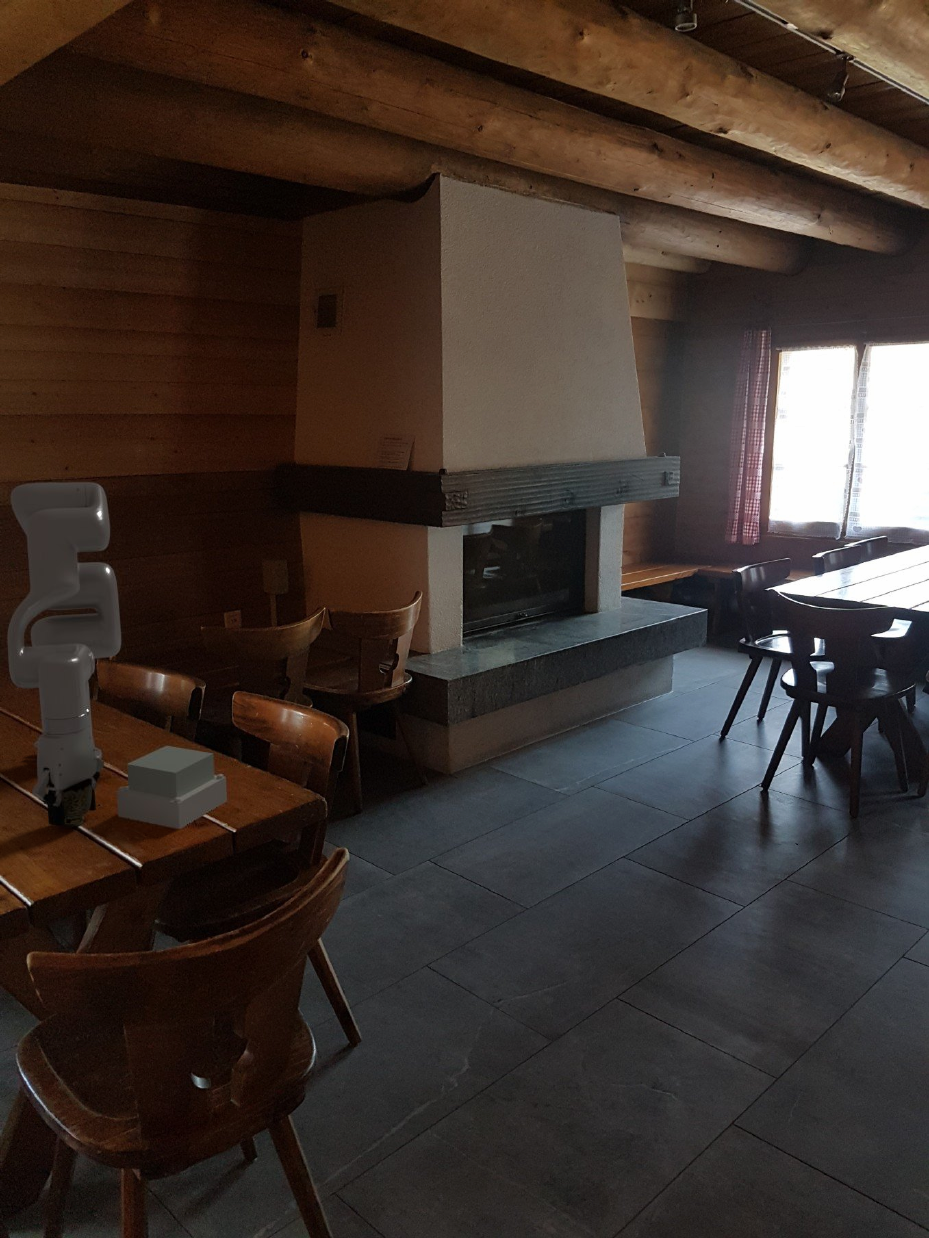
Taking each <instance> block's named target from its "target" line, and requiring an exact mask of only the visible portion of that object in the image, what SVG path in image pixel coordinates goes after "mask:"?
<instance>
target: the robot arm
mask: <svg viewBox="0 0 929 1238" xmlns="http://www.w3.org/2000/svg"><path fill="white" fill-rule="evenodd" d="M10 503H11V507H12V511H13V513H14V515H15V518H16V520H17V521H18V523H19V525H20V527H21V529H22V530H23V532H24V533H25V535H26V541H27V543H26V544H27V555H28V557H27V558H28V570H29V571H28V572H29V582H30V583H29V584H30V590H29V592H28V594H27V596H26V597H25V598H24V599H23V600H22V601H21V603H20V604H19V605H18V606H17V608H16V609H15V610H14V612H13V614H12V616H11V619H10V622H9V625H8V629H7V638H6V639H7V653H8V655H7V656H8V668H9V674H10V675H9V676H10V679H11V681H12V683H13V684H14V685H15V686H17V687H18V688H22V689H36V688H38V692H39V702H40V714H41V715H40V716H41V726H42V727H41V728H42V734H40V735H39V736H38V739H37V741H35V742H34V744H33V745H34V746H33V747H34V748H36V749H37V753H36V755H37V756H36V757H37V758H36V767H37V768H36V769H37V770H36V771H37V772H36V773H37V774H36V775H37V782H36V784H35V785H34V787H33V788H32V790H31V792H32V794H33V795H34V796H35V797H37V798H38V800H40V801H41V802H42V803H43V804H44V805H46V807H47V817H48V824H49V825H52V826H56V827H64V825H65V818H64V806H63V805H61V804H60V803H61V799H62V791H63V792H64V789H67V788H69V787H71V786H73V785H76V784H78V783H80V782H82V781H85V780H86V781H87V782H88V783H89V781H90V779H92V798H91V805H90V809H89V811H90V812H94V811H95V810H97V806H96V805H97V804H96V792H95V790H96V789H97V787H98V783H97V782H98V780H99V779H100V776H101V772H102V770H103V768H104V765H105V762H104V761H103V760H102V759H101V758H102V755H103V754H102V750H101V749H100V748H98V747H95V746H96V745H95V740H94V737H93V725H92V712H91V702H90V701H91V700H90V686H89V680H90V679H91V676H92V674H94V672H95V666H96V664H95V663H96V662H95V659H102V658H103V659H104V658H111V657H114V656H116V655H117V654H118V653H119V652H120V650H121V646H122V631H121V630H122V629H121V627H122V626H121V618H120V617H121V616H120V604H119V603H120V602H119V591H118V583H117V578H116V575H115V574H116V573H115V571H114V569H113V568H112V566H111V565H109V564H108V563H105V562H102V561H101V562H99V561H95V562H92V561H90V562H79V561H78V553H84V552H85V553H87V552H88V553H91V552H102V551H104V550H105V549H107V547H108V546H109V544H110V539H111V538H110V537H111V523H110V515H109V507H108V499H107V495H106V491H105V490H104V488H103V487H102V486H101V485H100V484H99V483H97V482H91V481H90V482H89V481H88V482H87V481H82V482H81V481H77V482H70V481H69V482H33V483H24V484H21V485H18V486H15V487H14V488H12V491H11V494H10ZM81 609H93V610H95V611H96V612H95V613H82V614H81V613H80V614H77V613H76V614H75V613H74V614H63V615H52V616H47V617H46V616H45V617H43V618H40V619H38V620H36V622H34V624H33V625H32V627H31V629H30V640H31V641H30V642H31V645H32V646H25V632H26V630H27V627H28V625H29V624H30V622H31V621H32V620H33V619H34V618H35V617H37V616H38V615H39V614H41V613H42V612H44V611H47V610H50V611H64V610H65V611H67V610H81ZM54 786H55V787H54ZM51 790H53V791H56V794H55V798H54V797H52V791H51Z"/></svg>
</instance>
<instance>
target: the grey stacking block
mask: <svg viewBox="0 0 929 1238" xmlns="http://www.w3.org/2000/svg"><path fill="white" fill-rule="evenodd" d="M214 759H215V758H214V753H212V752H207V751H206V752H205V751H201V750H195V749H189V748H182V747H176V746H170V745H165V746H163V747H161V748H159V749H156V750H154V751H152V752H150V753H147V754H146V755H143V756H142V757H139V758H137V759H135V760H132V761H131V762H129V763H127V764H126V769H127V783H128V785H127V786H120V787H119V788H118V790H116V802H117V803H116V804H117V815H118V817H120V818H123V819H128V818H129V819H128V820H132V821H137V820H139V821H138V822H141V823H142V822H143V823H147V822H148V824H152V825H156V824H157V825H158V826H162V827H167V828H172V829H175V830H176V829H177V830H181V829H183V828H184V827H186V826H188V825H190V824H191V823H193V822H194V820H195V821H197V820H198V819H200V818H201V817H204V816H205V815H206V813H207V814H208V813H210V812H212V811H213V810H215V809H217V808H218V807H220V806H222V805H224V804H225V803H226V802H228V795H227V777H226V776H224V774H222V773H218V774H217V775H216V774H215V763H214V762H215V761H214ZM216 807H217V808H216ZM211 810H212V811H211ZM209 811H210V812H209ZM204 814H205V815H204ZM189 823H190V824H189ZM187 824H188V825H187Z"/></svg>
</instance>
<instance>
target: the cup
mask: <svg viewBox="0 0 929 1238" xmlns="http://www.w3.org/2000/svg"><path fill="white" fill-rule="evenodd" d="M54 787H55V786H54ZM51 791H52V797H54V798H55V794H56V791H53V790H51ZM91 798H92V779H90V781H89V783H88V782H87V781H86V780H85V781H82V782H80V783H78V784H76V785H73V786H71V787H69V788H67V789H64V792H63V791H62V799H61V803H60V804H61V805H63V806H64V818H65V825H64V826H65V827H67V828H75V827H78V826H79V827H80V825H83V823H84V821H85V818H84V816H86V814H87V813H88V812H89V811H90V810H89V809H90V805H91ZM64 826H63V827H64Z"/></svg>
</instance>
